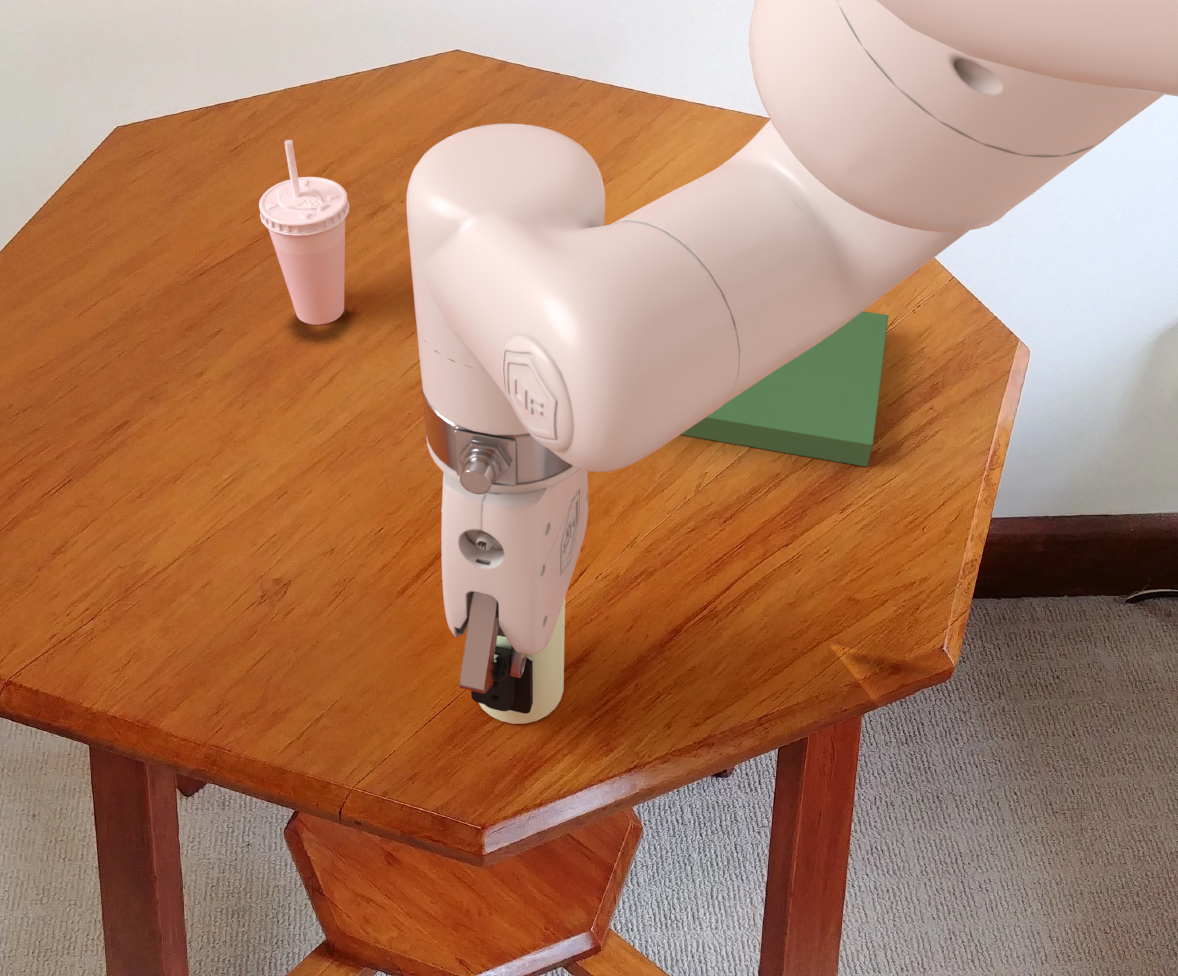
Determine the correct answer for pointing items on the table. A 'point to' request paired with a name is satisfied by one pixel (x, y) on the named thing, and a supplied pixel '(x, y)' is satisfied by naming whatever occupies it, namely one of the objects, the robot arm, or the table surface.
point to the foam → (812, 400)
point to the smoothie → (309, 241)
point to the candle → (540, 677)
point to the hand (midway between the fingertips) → (516, 662)
